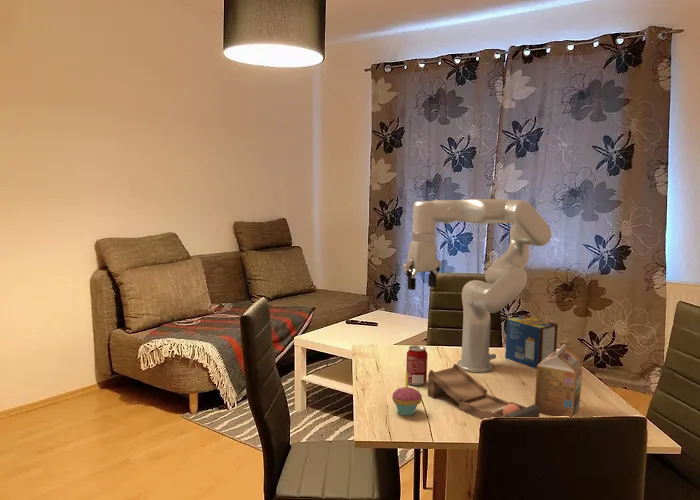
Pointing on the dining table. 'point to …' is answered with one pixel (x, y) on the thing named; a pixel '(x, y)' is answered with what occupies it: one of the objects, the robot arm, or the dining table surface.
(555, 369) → the milk carton
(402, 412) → the cupcake
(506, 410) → the ball
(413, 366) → the soda can
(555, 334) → the protein box
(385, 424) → the dining table surface
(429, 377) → the lane
